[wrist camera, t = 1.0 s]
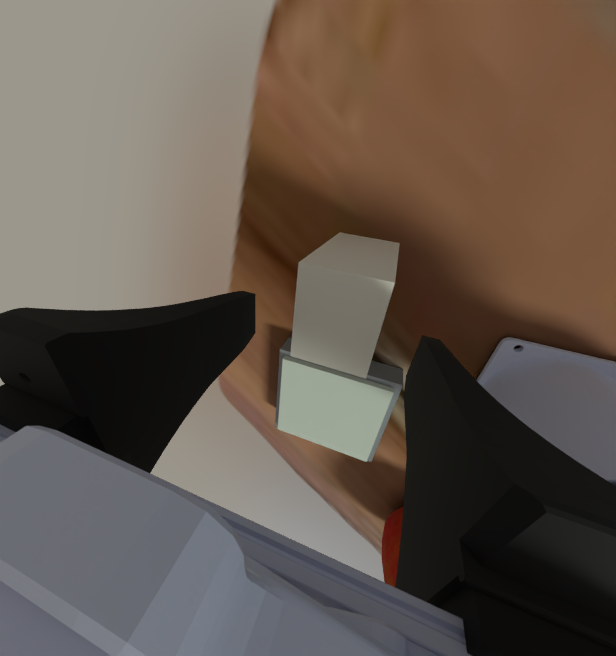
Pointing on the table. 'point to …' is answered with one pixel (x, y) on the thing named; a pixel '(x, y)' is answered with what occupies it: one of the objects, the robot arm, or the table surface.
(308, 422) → the tray
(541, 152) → the table surface
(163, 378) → the robot arm
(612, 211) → the table surface
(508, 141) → the table surface
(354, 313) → the carton
